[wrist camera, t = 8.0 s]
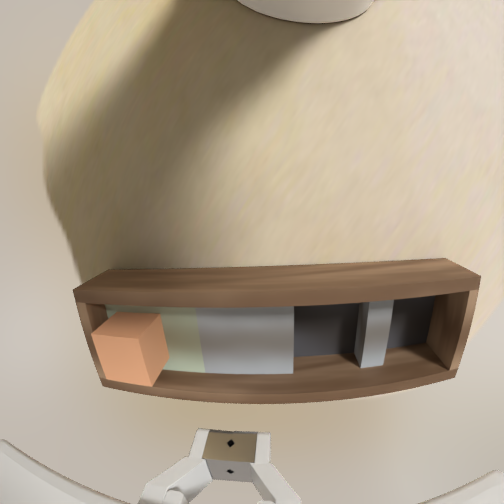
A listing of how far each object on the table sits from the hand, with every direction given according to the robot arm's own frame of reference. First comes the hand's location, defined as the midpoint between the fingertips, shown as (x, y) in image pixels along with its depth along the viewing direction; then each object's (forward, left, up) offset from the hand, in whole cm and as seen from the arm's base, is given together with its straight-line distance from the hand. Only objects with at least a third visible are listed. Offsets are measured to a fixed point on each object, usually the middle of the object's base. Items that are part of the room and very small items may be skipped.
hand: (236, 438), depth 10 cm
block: (+1, -9, -10) cm, 14 cm away
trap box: (+1, +2, -13) cm, 13 cm away
